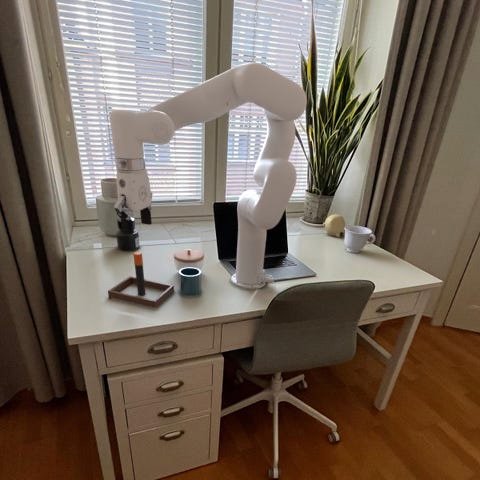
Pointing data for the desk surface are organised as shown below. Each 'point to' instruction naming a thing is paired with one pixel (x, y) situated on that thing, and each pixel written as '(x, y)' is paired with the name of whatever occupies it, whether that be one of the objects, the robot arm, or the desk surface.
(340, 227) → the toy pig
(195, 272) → the pen cup
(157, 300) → the desk tray
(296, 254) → the desk surface
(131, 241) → the ink bottle
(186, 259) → the trinket box
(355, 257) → the desk surface
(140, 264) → the marker
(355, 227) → the teacup
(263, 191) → the robot arm
